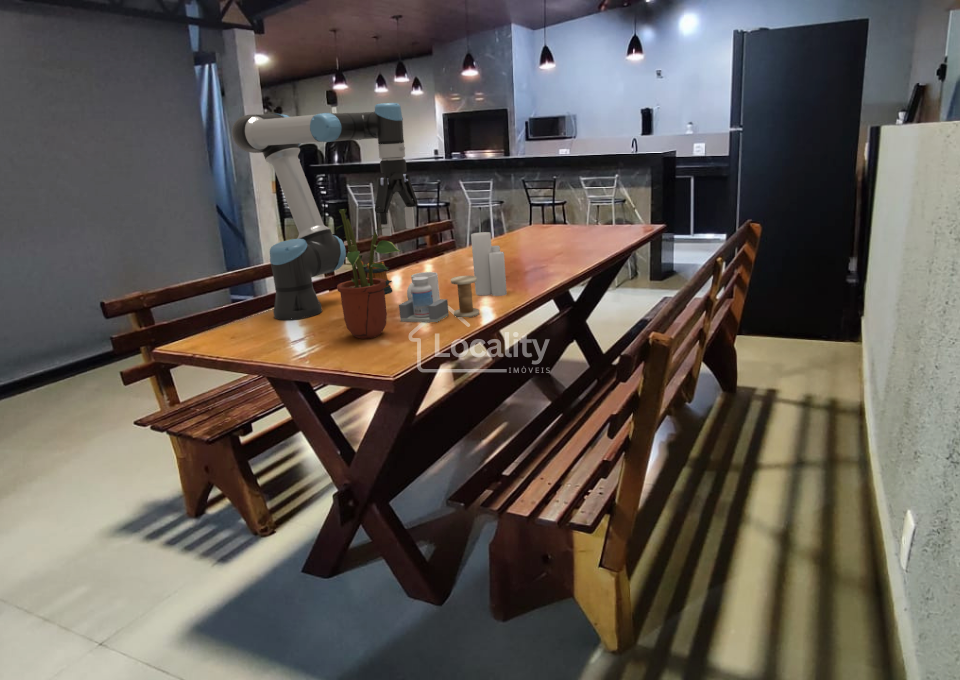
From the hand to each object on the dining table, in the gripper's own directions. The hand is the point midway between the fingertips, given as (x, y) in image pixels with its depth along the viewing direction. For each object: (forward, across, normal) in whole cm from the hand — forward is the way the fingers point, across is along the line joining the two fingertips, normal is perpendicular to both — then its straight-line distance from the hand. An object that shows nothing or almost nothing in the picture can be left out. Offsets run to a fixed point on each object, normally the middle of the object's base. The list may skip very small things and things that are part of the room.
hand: (399, 231), depth 202 cm
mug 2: (+26, +22, +26) cm, 43 cm away
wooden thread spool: (+24, 0, -21) cm, 32 cm away
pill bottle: (+24, -7, -10) cm, 27 cm away
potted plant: (+25, -24, -4) cm, 34 cm away
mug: (+25, +5, -3) cm, 26 cm away
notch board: (+24, -7, -10) cm, 27 cm away
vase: (+25, +26, -18) cm, 40 cm away
